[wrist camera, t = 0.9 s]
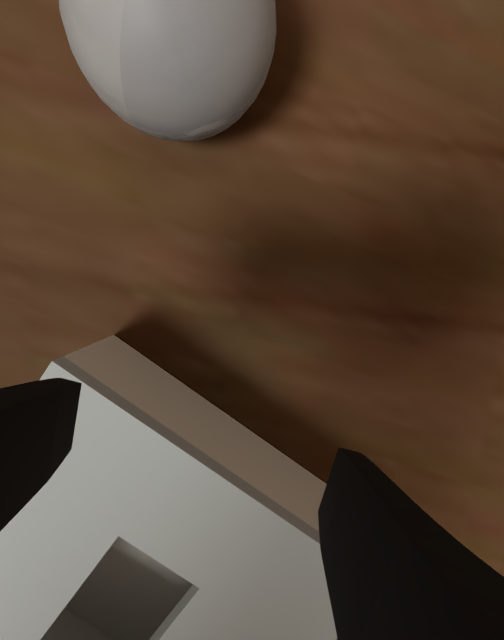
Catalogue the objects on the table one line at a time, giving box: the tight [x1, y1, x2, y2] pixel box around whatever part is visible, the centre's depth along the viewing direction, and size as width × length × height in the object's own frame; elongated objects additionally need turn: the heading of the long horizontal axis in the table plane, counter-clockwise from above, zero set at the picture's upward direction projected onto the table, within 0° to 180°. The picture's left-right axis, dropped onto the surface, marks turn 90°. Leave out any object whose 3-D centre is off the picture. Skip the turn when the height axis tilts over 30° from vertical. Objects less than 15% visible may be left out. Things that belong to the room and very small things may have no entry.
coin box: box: [0, 335, 337, 640], centre depth 18 cm, size 16×16×6 cm
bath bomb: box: [59, 0, 277, 142], centre depth 14 cm, size 8×8×8 cm
